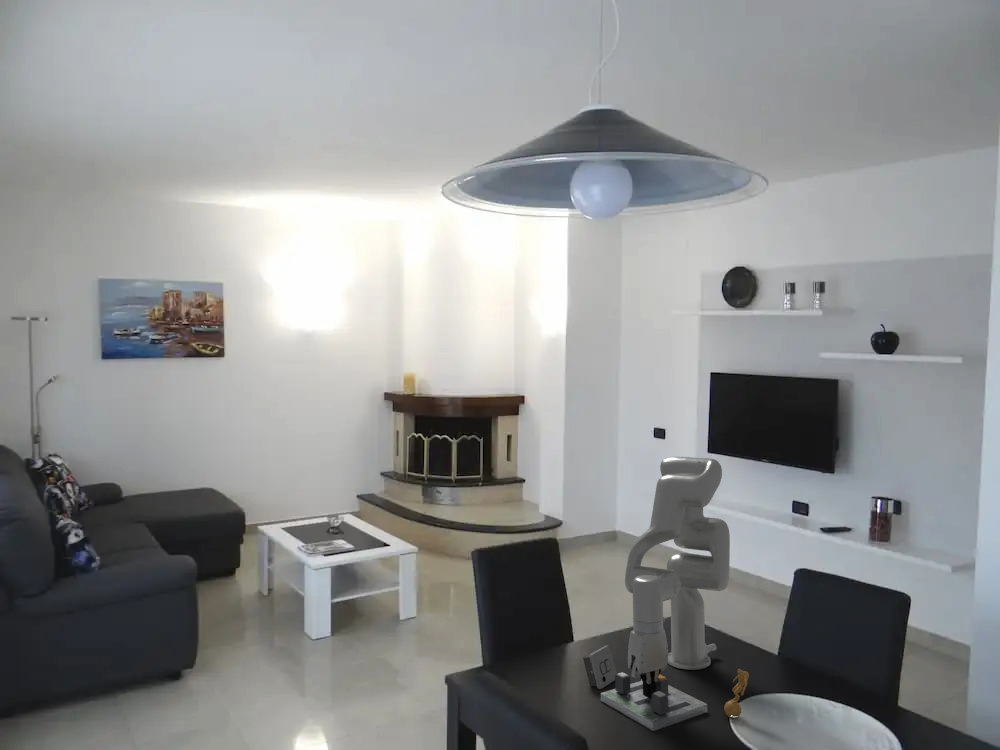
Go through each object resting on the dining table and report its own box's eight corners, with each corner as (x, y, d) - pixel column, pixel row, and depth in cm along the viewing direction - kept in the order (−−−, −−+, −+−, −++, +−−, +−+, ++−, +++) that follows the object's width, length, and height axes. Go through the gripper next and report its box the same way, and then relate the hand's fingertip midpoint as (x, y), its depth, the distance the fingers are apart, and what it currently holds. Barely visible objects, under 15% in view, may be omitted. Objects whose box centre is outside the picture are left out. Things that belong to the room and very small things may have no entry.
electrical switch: (600, 690, 214) (596, 656, 214) (584, 688, 217) (580, 653, 218) (618, 679, 221) (614, 645, 222) (602, 676, 225) (598, 643, 225)
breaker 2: (659, 707, 198) (659, 690, 198) (667, 712, 195) (667, 694, 195) (651, 710, 196) (651, 692, 196) (660, 714, 194) (660, 696, 194)
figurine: (720, 709, 201) (720, 662, 201) (745, 709, 201) (744, 662, 201) (728, 724, 193) (727, 675, 193) (753, 725, 193) (753, 676, 192)
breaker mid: (660, 691, 207) (660, 673, 207) (668, 695, 205) (668, 677, 204) (653, 693, 206) (652, 675, 206) (661, 697, 203) (660, 679, 203)
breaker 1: (622, 687, 210) (622, 671, 210) (630, 691, 207) (630, 675, 207) (615, 690, 208) (615, 673, 208) (622, 694, 206) (622, 677, 206)
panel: (652, 684, 217) (652, 676, 217) (707, 712, 200) (707, 703, 200) (600, 700, 208) (600, 692, 208) (653, 731, 191) (652, 722, 191)
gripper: (660, 615, 210) (661, 684, 210) (615, 626, 202) (617, 698, 203) (680, 623, 203) (681, 694, 204) (635, 635, 196) (636, 709, 196)
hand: (649, 696), depth 203 cm, fingers closed
